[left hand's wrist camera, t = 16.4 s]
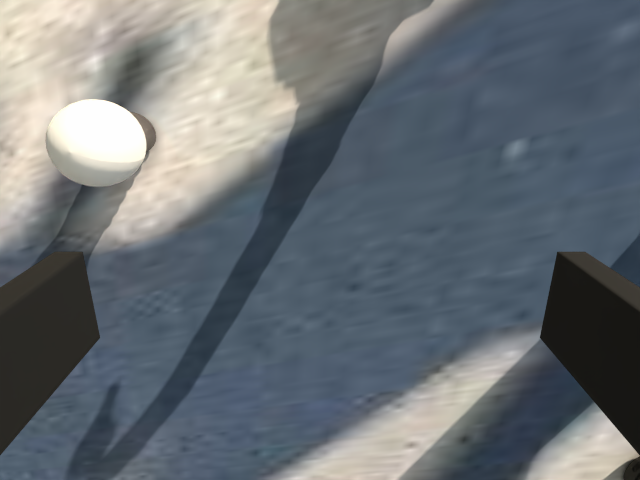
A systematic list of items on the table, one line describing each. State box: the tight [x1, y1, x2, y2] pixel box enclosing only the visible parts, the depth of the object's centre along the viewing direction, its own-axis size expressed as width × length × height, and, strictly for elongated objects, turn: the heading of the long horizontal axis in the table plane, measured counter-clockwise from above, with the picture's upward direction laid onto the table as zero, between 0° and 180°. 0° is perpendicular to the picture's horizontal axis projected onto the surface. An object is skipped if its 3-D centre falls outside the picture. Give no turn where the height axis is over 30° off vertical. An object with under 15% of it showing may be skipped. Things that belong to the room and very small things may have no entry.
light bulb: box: [46, 99, 156, 187], centre depth 36 cm, size 7×7×11 cm
